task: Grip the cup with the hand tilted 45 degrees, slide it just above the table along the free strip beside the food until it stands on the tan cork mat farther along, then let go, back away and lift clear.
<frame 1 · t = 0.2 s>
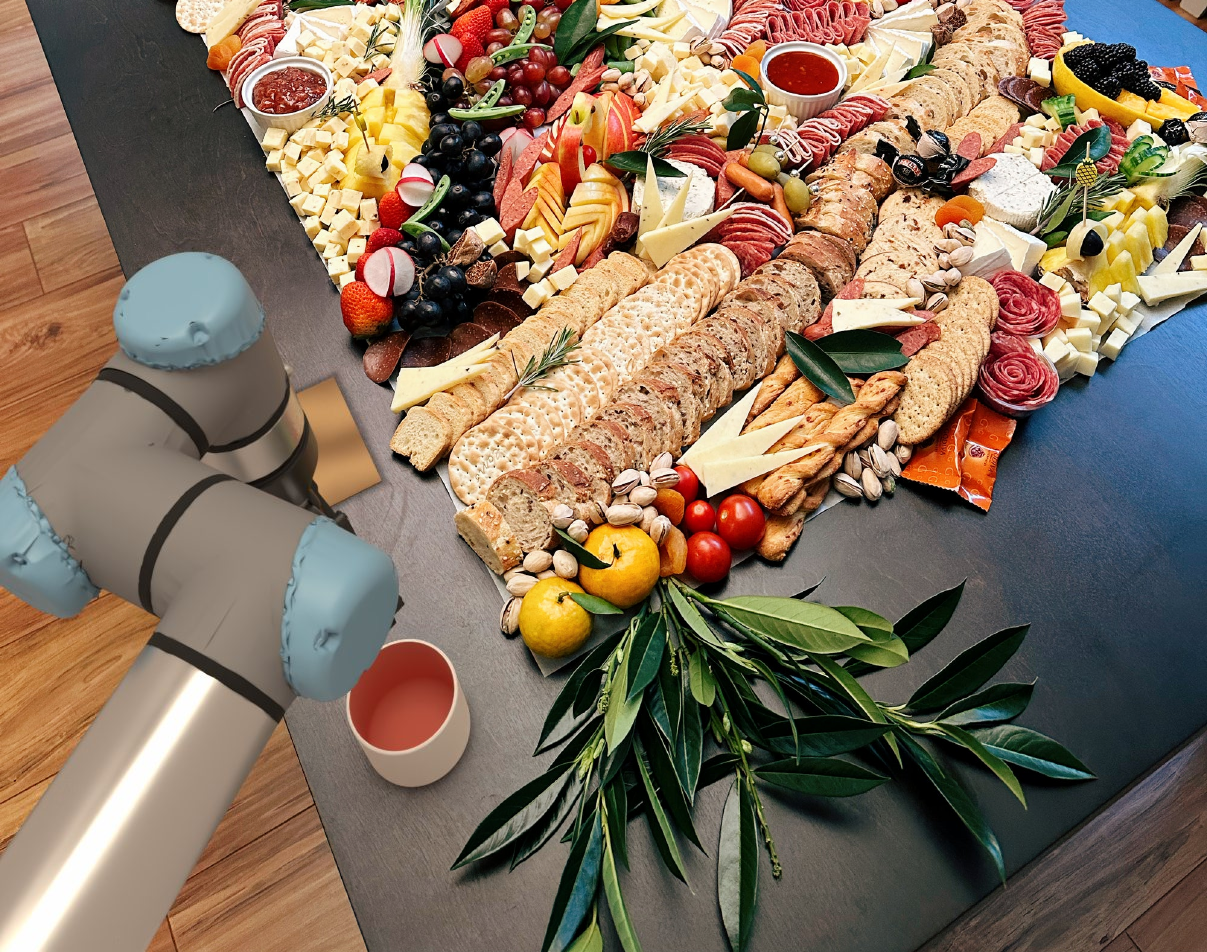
hand: (321, 580, 90), 30 cm above the table, tool pointing down, fingers open, 13 cm apart
cork mat: (307, 451, 132), on the table
cup: (420, 734, 110), on the table
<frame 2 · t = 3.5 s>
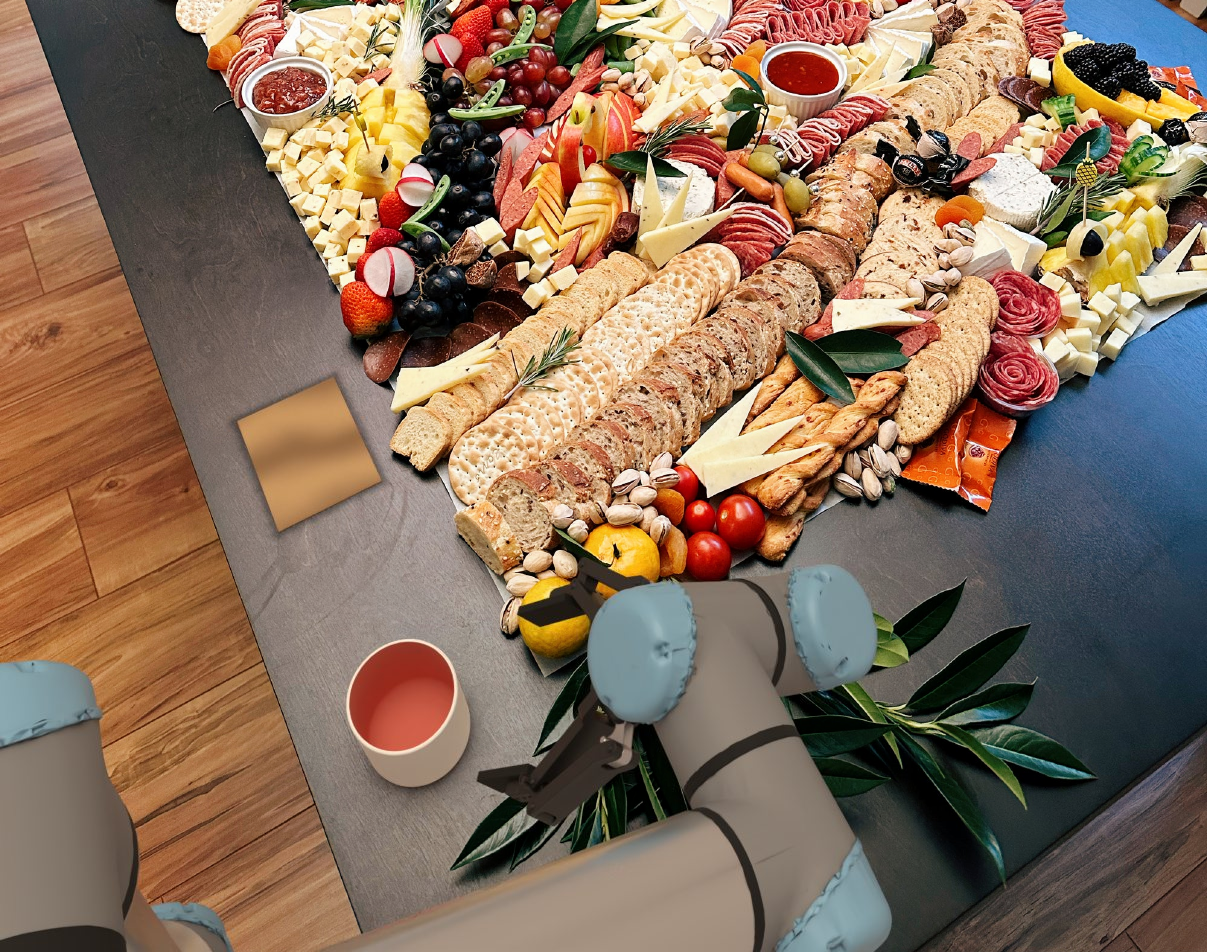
hand: (510, 696, 98), 15 cm above the table, tool tilted 45°, fingers open, 13 cm apart
nothing on the table moved.
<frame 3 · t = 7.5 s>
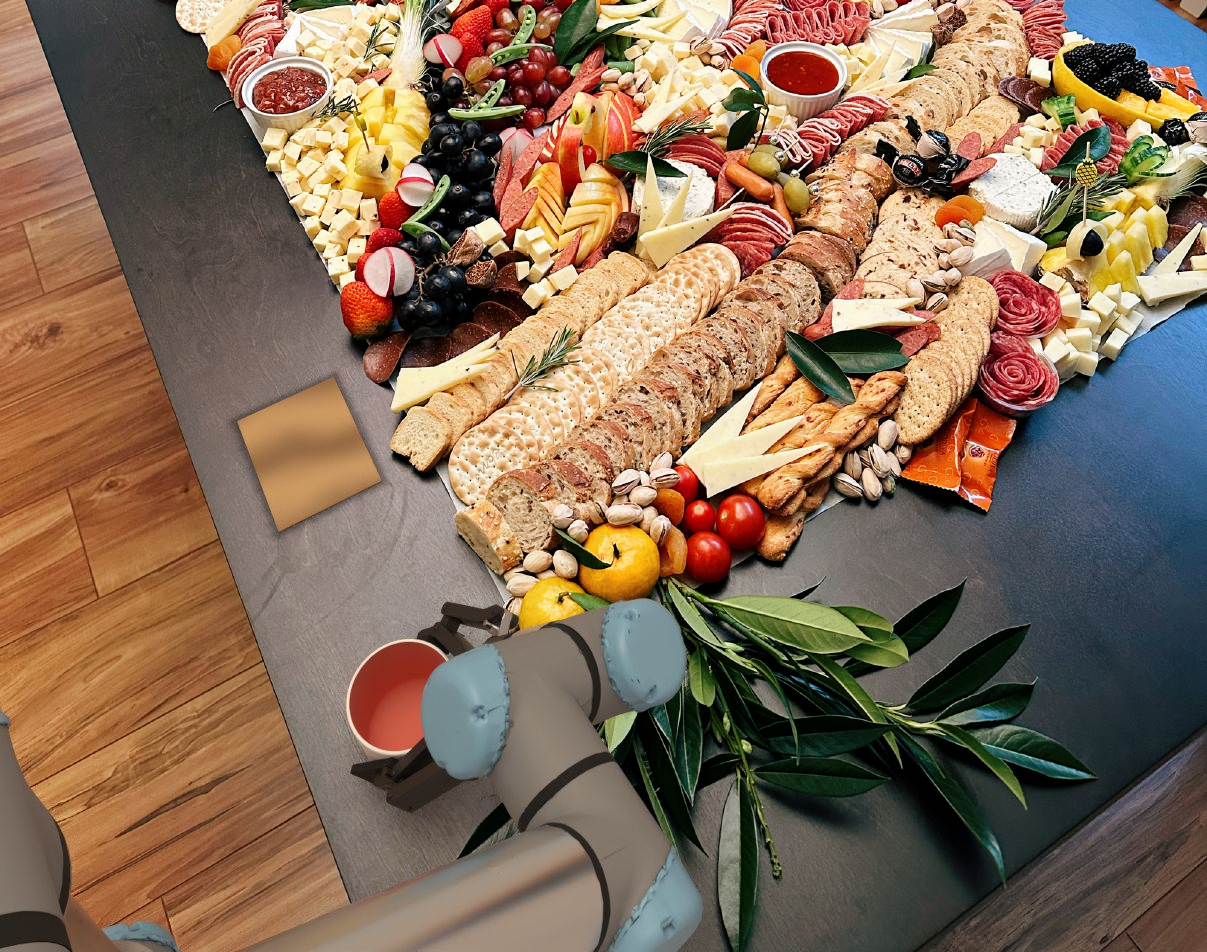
hand: (382, 713, 108), 4 cm above the table, tool tilted 45°, fingers closed on cup, 10 cm apart
cup: (420, 734, 110), on the table, touching gripper
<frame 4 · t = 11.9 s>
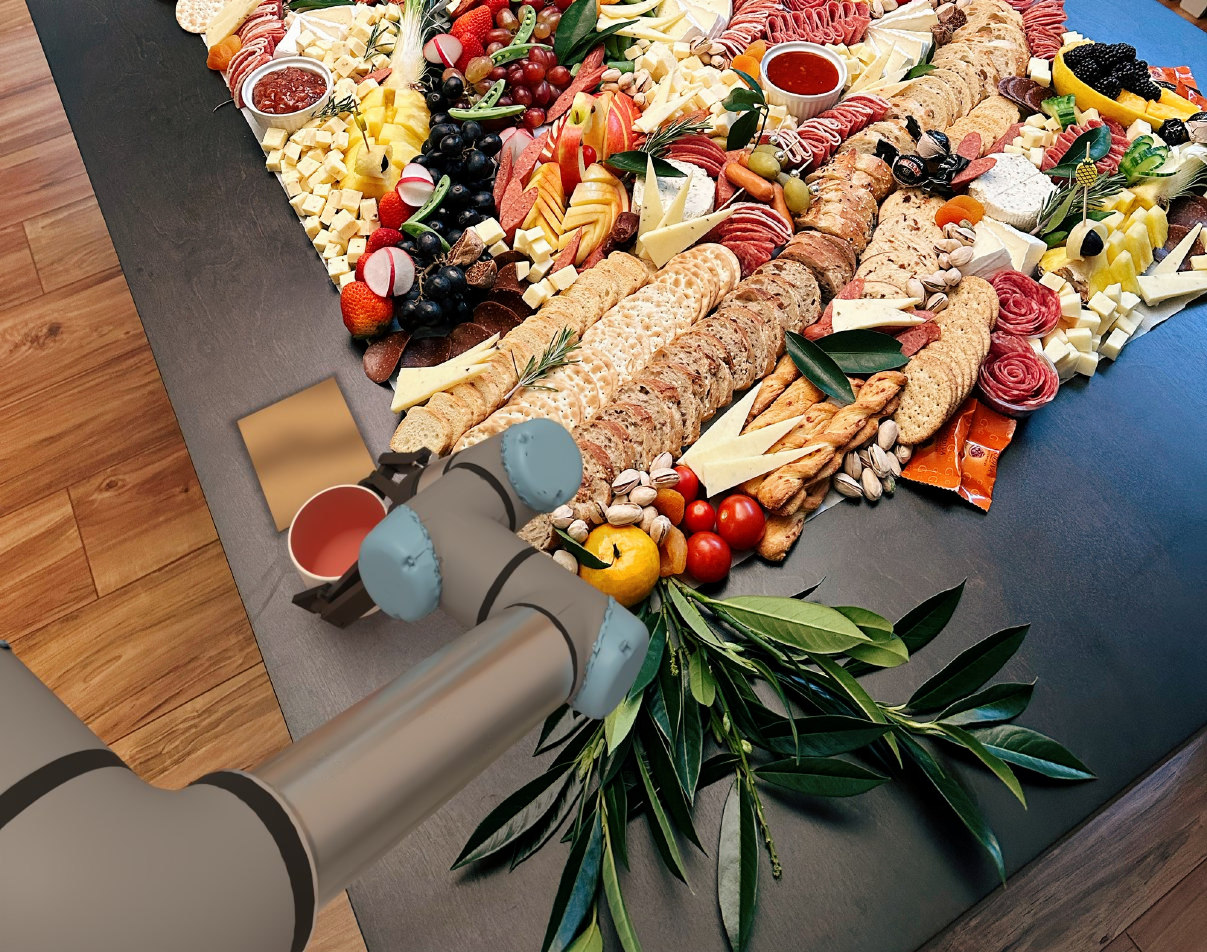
hand: (323, 553, 117), 6 cm above the table, tool tilted 45°, fingers closed on cup, 10 cm apart
cup: (359, 576, 120), point 1 cm above the table, touching gripper
when the fingers open (4 cm above the table, at t = 16.5 s): cup stays where it is, resting on cork mat.
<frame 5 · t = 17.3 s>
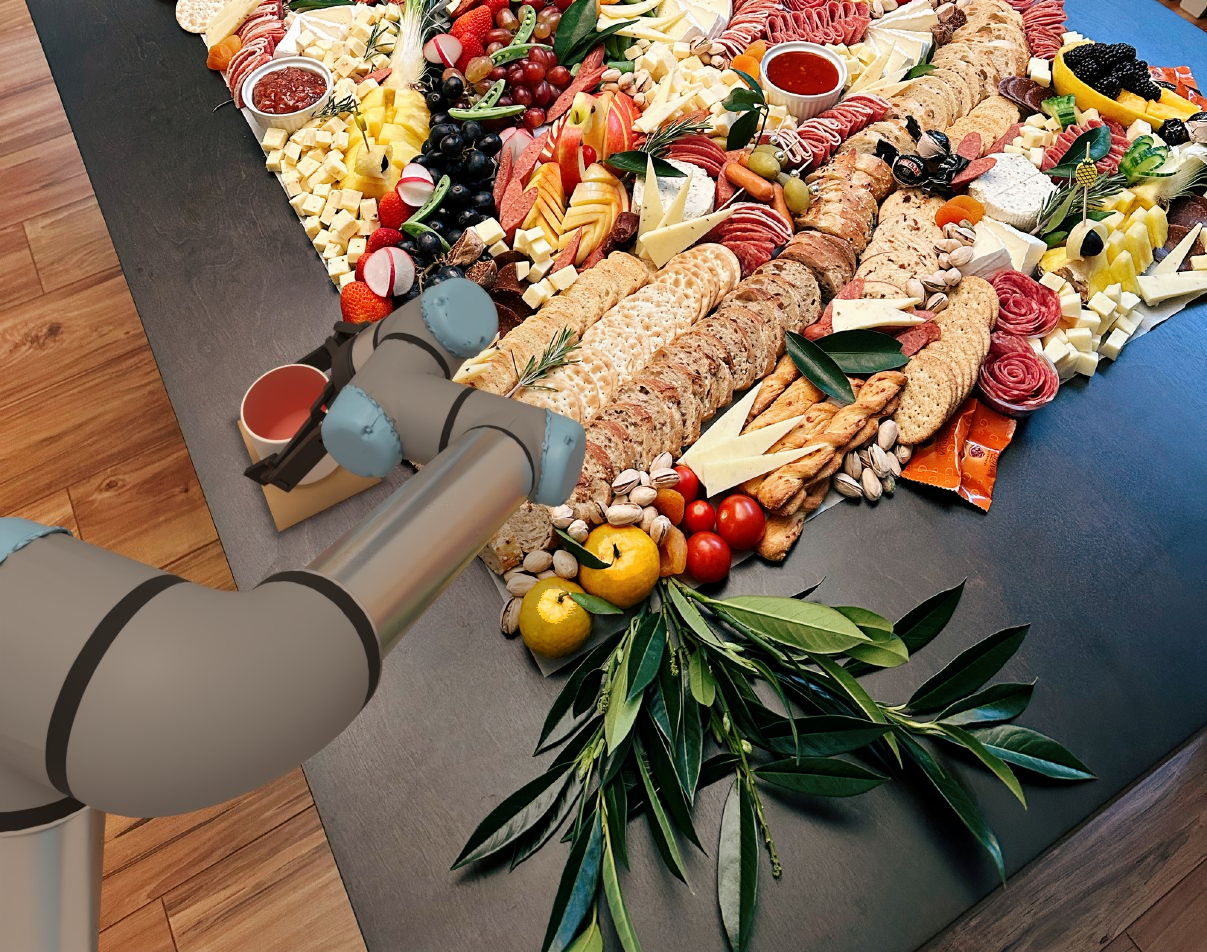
hand: (279, 423, 129), 6 cm above the table, tool tilted 45°, fingers open, 13 cm apart
cup: (308, 451, 132), resting on cork mat
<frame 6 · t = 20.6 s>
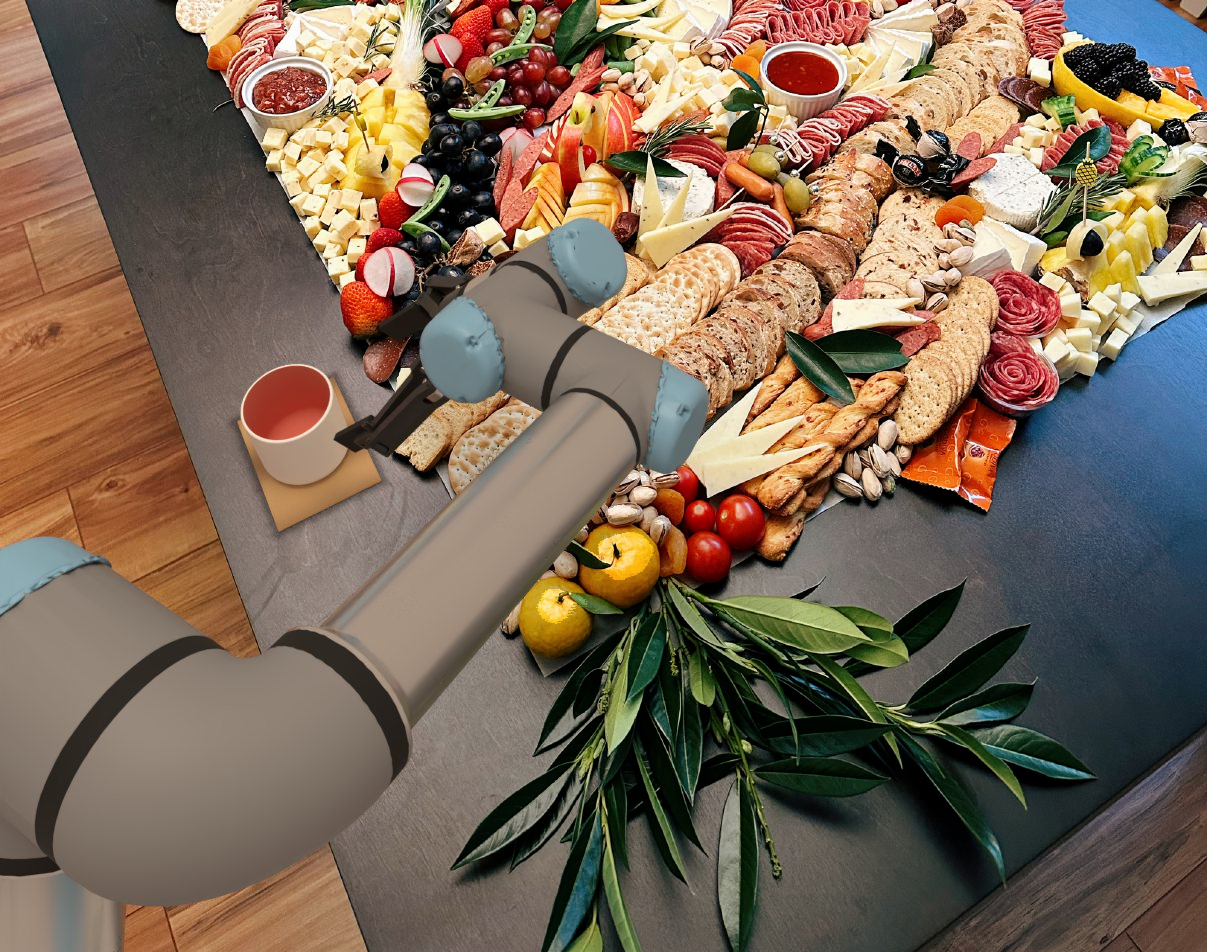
hand: (368, 385, 119), 16 cm above the table, tool tilted 45°, fingers open, 13 cm apart
nothing on the table moved.
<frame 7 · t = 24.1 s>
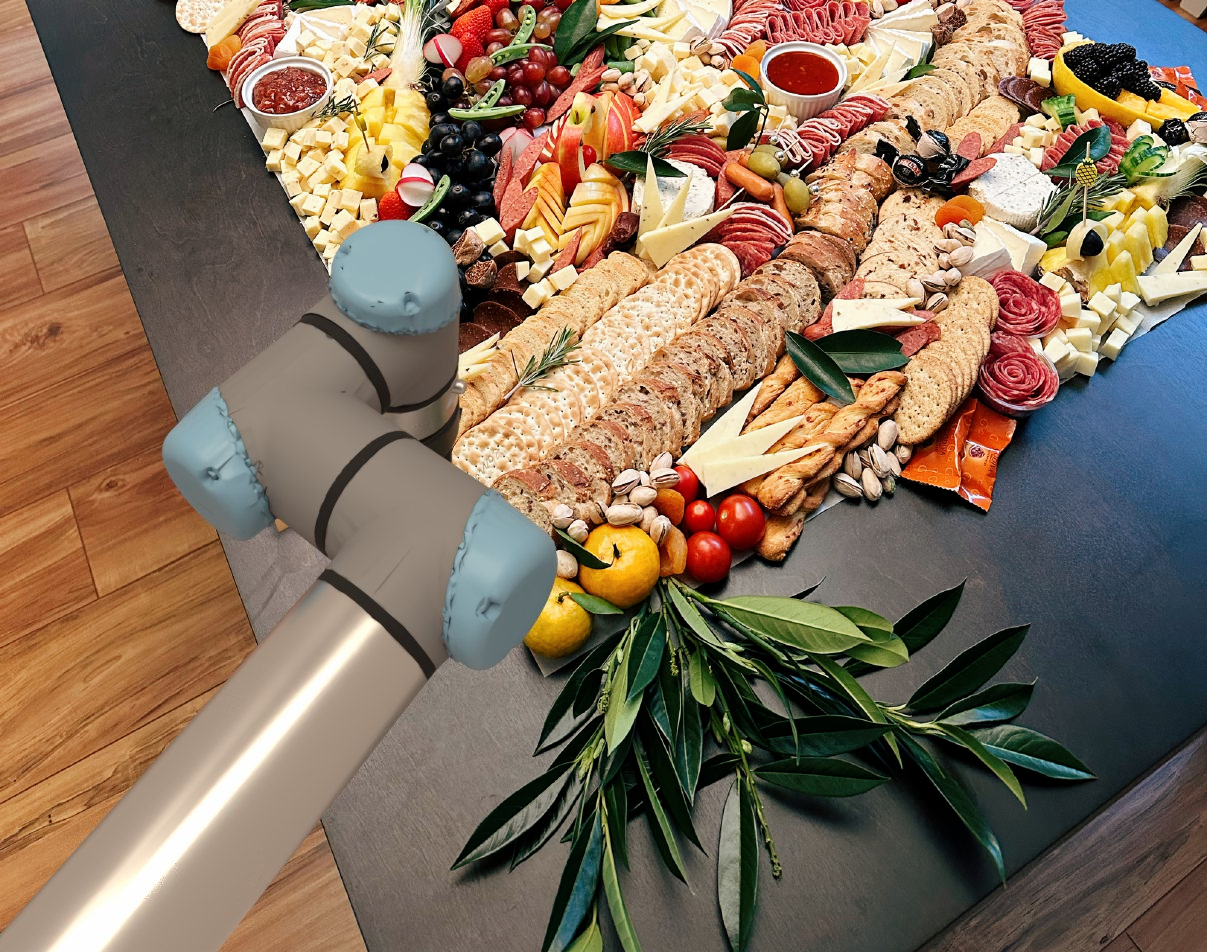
hand: (412, 539, 93), 29 cm above the table, tool pointing down, fingers open, 13 cm apart
nothing on the table moved.
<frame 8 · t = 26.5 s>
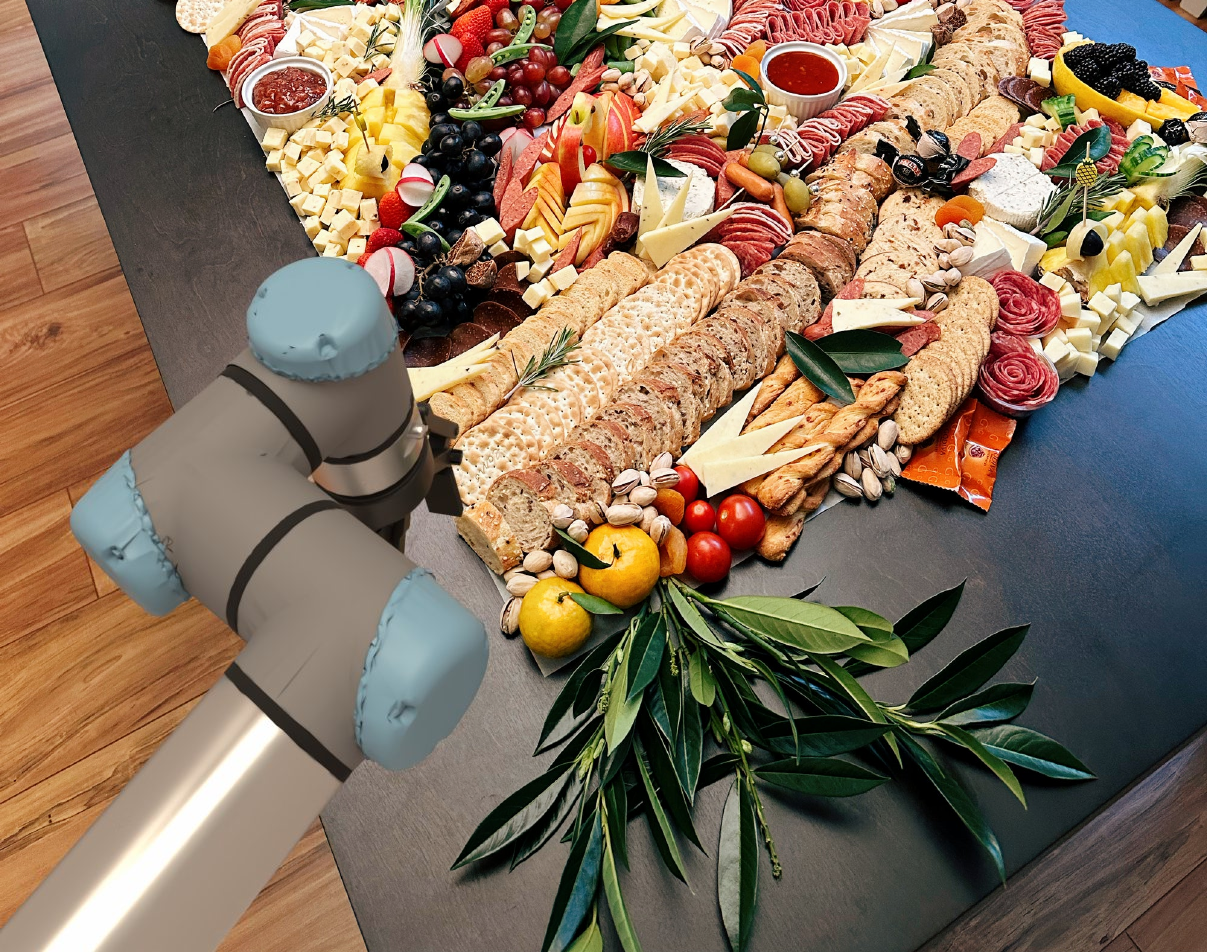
hand: (421, 592, 88), 31 cm above the table, tool pointing down, fingers open, 13 cm apart
nothing on the table moved.
at the end: cup inside the target area on the cork mat (0.1 cm from its centre), point 0.0 cm above the cork mat's base; cup tilted 0°; the gripper is holding nothing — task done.
